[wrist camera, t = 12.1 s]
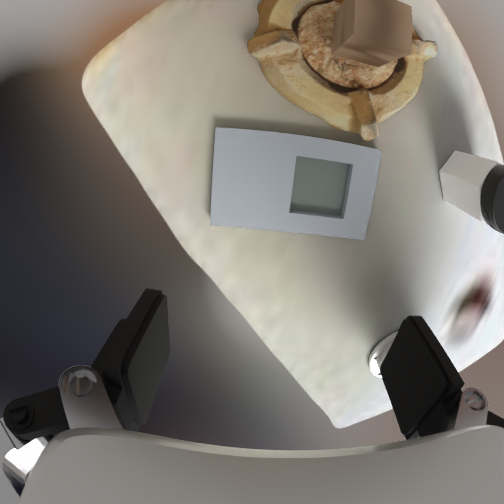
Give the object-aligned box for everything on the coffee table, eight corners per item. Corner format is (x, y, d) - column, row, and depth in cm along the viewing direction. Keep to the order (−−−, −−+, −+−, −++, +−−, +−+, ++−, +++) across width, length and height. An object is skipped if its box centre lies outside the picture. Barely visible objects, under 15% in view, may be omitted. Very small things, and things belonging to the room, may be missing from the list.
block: (380, 27, 22) (411, 6, 14) (377, 67, 24) (411, 53, 17) (334, 14, 21) (355, -14, 14) (330, 54, 24) (353, 33, 16)
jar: (431, 198, 34) (482, 227, 23) (443, 144, 31) (500, 158, 20) (470, 210, 34) (519, 240, 24) (482, 162, 31) (535, 181, 20)
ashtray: (449, 100, 28) (469, 100, 24) (312, 164, 34) (320, 169, 29) (367, -36, 20) (379, -50, 15) (216, 13, 25) (210, -3, 21)
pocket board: (376, 149, 32) (381, 150, 30) (360, 235, 37) (364, 240, 35) (217, 127, 32) (215, 127, 30) (212, 220, 37) (210, 225, 35)
